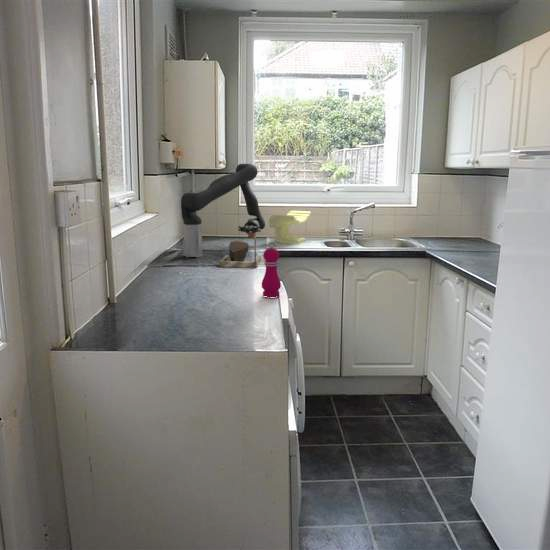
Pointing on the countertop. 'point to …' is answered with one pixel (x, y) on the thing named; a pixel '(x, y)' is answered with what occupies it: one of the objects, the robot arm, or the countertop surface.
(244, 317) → the countertop surface
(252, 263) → the corral
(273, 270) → the pepper mill
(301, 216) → the slatted curved stool
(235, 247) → the rock
